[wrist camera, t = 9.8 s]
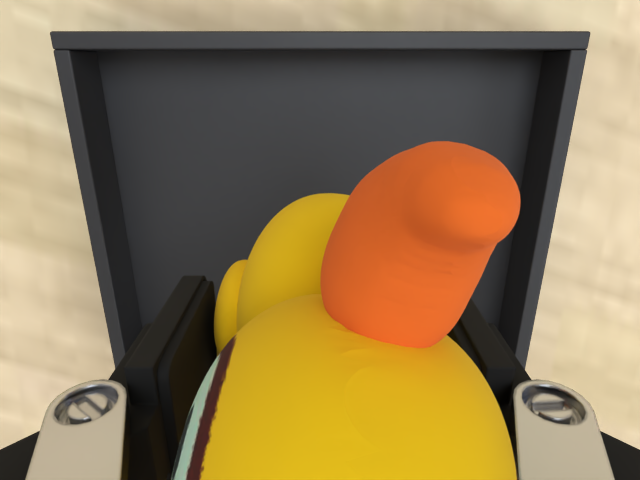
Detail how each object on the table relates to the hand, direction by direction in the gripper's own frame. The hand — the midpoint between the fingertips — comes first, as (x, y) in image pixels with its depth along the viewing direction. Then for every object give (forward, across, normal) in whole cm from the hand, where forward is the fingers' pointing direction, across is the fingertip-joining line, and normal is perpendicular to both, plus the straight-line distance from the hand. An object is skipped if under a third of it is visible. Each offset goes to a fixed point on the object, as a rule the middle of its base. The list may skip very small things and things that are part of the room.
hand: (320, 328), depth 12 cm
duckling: (+2, 0, 0) cm, 2 cm away
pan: (+10, 0, 0) cm, 10 cm away
